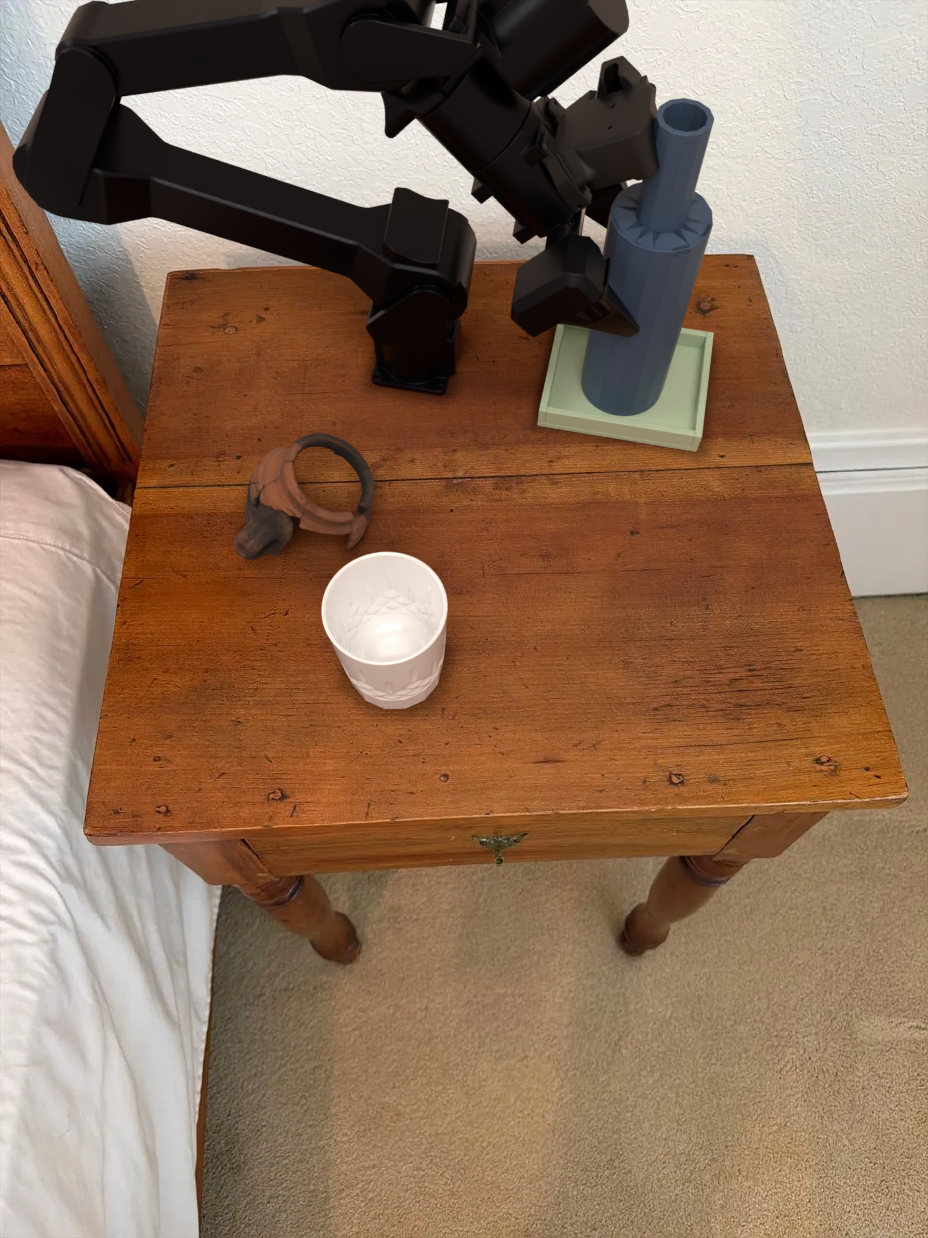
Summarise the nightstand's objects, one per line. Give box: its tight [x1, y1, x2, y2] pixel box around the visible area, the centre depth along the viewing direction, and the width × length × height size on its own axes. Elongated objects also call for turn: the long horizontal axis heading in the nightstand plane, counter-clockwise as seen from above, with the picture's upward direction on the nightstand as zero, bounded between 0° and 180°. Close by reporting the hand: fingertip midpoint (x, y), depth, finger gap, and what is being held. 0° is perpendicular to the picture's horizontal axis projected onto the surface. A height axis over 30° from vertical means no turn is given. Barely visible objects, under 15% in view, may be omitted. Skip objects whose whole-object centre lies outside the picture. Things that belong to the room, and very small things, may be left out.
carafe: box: [581, 97, 715, 416], centre depth 64 cm, size 7×7×24 cm
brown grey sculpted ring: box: [232, 432, 376, 561], centre depth 67 cm, size 12×10×8 cm
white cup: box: [321, 551, 449, 710], centre depth 60 cm, size 8×8×10 cm
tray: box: [536, 324, 715, 453], centre depth 74 cm, size 13×11×2 cm
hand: (639, 286), depth 65 cm, fingers open, 9 cm apart
